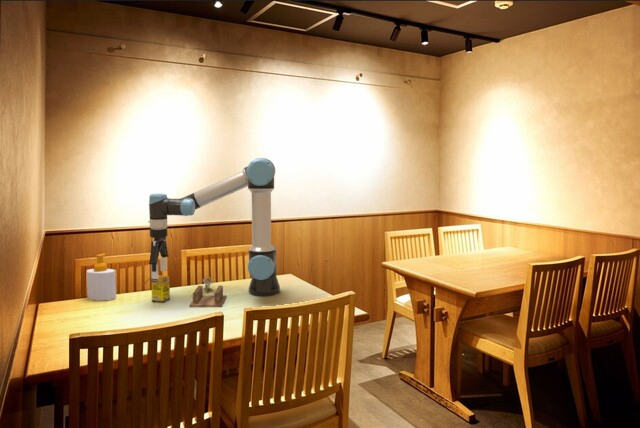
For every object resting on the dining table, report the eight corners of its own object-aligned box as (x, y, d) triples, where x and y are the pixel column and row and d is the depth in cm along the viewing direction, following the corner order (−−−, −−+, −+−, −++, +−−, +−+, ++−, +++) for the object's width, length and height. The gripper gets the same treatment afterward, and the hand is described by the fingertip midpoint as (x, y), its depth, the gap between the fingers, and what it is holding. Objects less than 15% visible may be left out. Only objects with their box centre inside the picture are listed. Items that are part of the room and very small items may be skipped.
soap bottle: (120, 296, 219) (118, 253, 217) (109, 301, 211) (107, 257, 209) (94, 295, 221) (92, 252, 219) (83, 300, 213) (80, 256, 211)
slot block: (226, 297, 219) (226, 284, 218) (221, 306, 205) (221, 293, 204) (196, 297, 218) (195, 285, 217) (189, 307, 204) (189, 293, 204)
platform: (217, 285, 241) (217, 272, 241) (223, 294, 225) (222, 281, 224) (193, 287, 237) (193, 274, 236) (197, 297, 220) (197, 283, 220)
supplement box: (163, 302, 210) (162, 279, 209) (151, 302, 211) (150, 278, 210) (170, 299, 216) (169, 275, 214) (158, 298, 217) (157, 275, 216)
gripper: (158, 224, 222) (159, 268, 224) (140, 232, 197) (141, 281, 199) (174, 224, 222) (175, 268, 225) (158, 232, 197) (159, 281, 200)
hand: (159, 274), depth 212 cm, fingers open, 13 cm apart
